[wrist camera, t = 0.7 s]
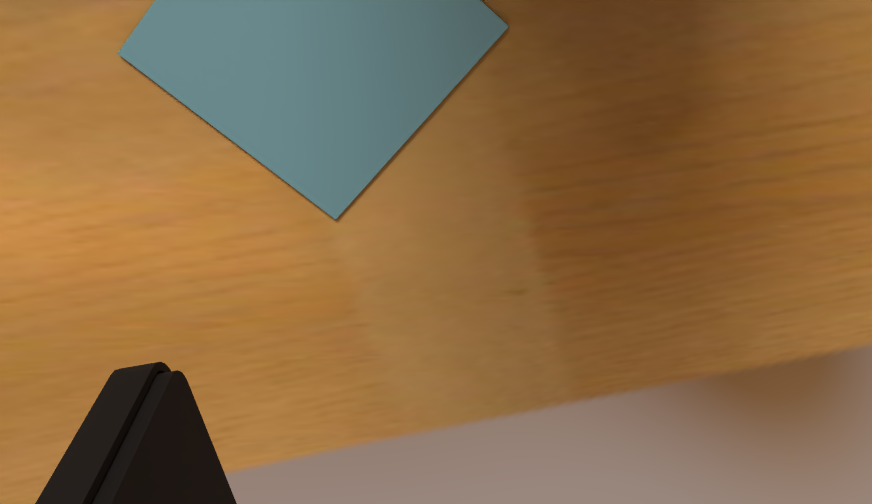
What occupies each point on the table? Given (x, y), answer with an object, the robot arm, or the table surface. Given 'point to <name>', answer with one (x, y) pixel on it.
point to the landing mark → (313, 77)
